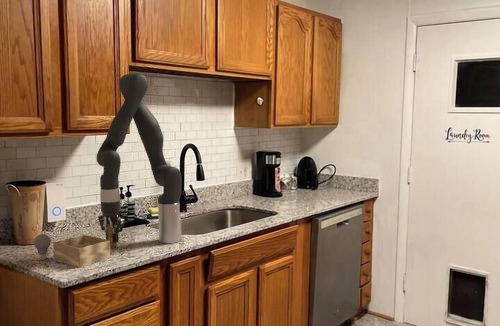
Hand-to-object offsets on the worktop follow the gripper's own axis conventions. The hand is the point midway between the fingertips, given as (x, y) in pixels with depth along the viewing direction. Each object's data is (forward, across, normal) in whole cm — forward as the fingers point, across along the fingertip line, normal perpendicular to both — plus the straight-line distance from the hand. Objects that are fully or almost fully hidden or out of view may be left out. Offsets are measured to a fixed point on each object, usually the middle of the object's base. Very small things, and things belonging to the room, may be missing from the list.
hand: (112, 241), depth 193 cm
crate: (+5, +4, +12) cm, 13 cm away
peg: (+3, 0, 0) cm, 3 cm away
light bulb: (+5, +16, +21) cm, 26 cm away
